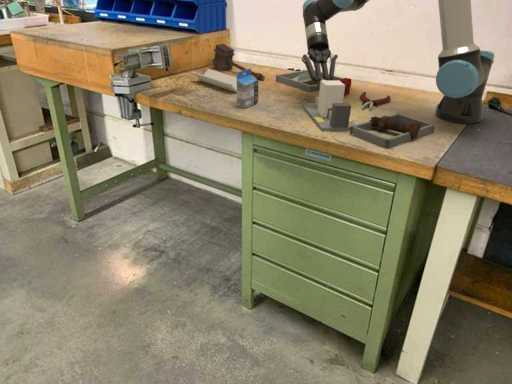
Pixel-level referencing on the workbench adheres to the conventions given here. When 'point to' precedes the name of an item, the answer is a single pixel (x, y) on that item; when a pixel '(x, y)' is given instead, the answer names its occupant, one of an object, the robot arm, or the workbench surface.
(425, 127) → the bolt parts frame
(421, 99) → the workbench surface
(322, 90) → the cream upright block
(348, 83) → the mechanical linkage
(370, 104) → the pliers
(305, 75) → the metal bracket
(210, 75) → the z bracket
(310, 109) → the rail board
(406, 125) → the bolt
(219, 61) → the hammer
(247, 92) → the label tape box
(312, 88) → the bracket parts frame
